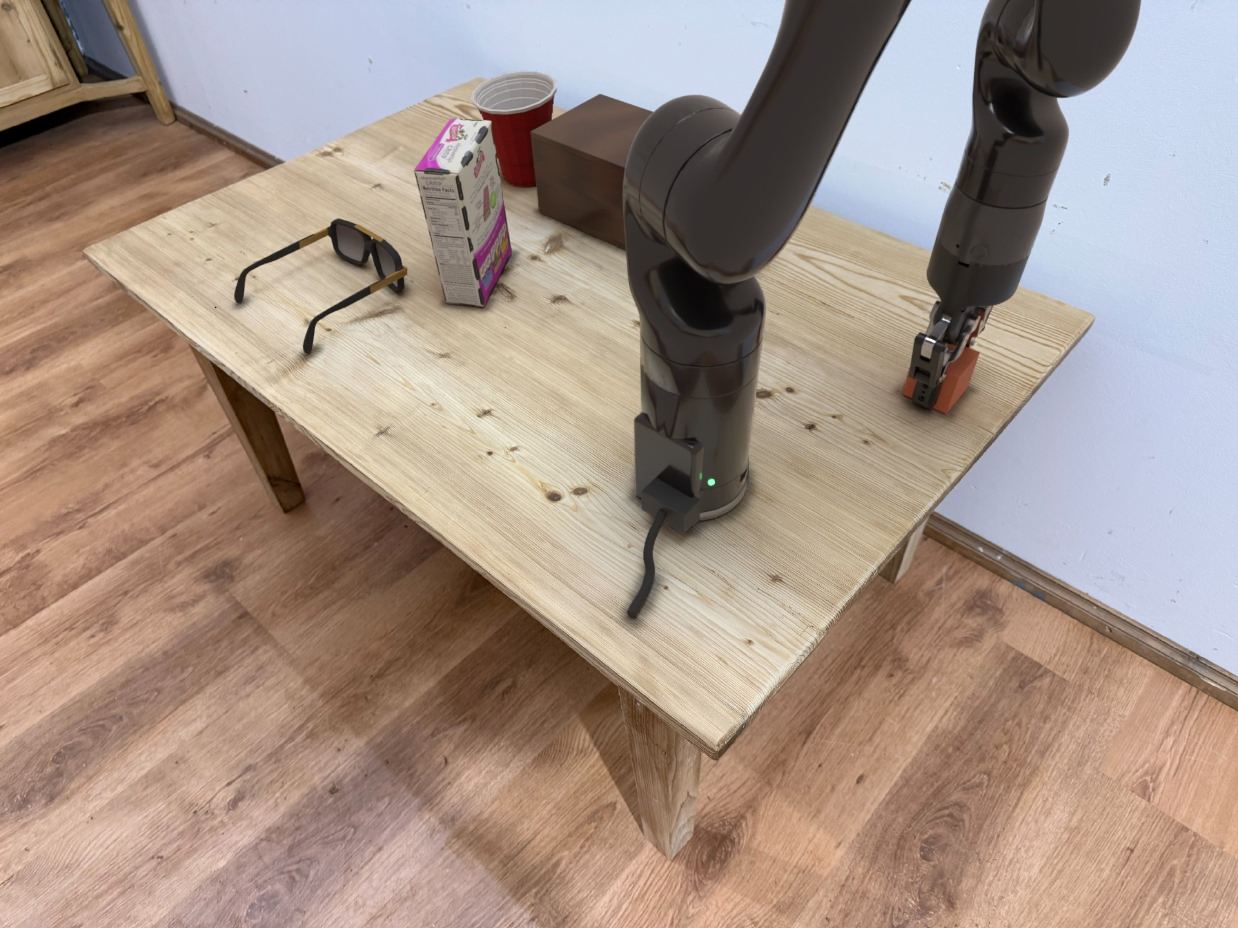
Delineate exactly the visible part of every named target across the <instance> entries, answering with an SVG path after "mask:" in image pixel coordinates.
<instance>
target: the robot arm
mask: <svg viewBox="0 0 1238 928" xmlns="http://www.w3.org/2000/svg"><path fill="white" fill-rule="evenodd" d="M912 1H913V0H785V1H784V5H783V10H782V15H781V19H780V24H779V27H778V30H777V34H776V37H775V41H774V43H773V45H772V48H771V51H770V54H769V56H768V59H767V61H766V63H765V65H764V68H763V70H762V71H761V74H760V76H759V78H758V81H757V82H756V85H755V87H754V88H753V91H752V93H751V95H750V97H749V99H748V101H747V102H746V104H745V106H744V108H743V109H742V112H738V111H737V110H735V109H734V108H733V107H731V106H730V105H728V104H726V103H725V102H723V101H721V100H719V99H716V98H715V97H712V96H708V95H704V94H686V95H681V96H678V97H675V98H672V99H670V100H668V101H666V102H664V103H663V104H661V105H660V106H659V107H657V108H656V109H655V110H654V111H653V113H652V114H651V115H650V116H649V117H648V118H647V119H646V121H645V122H644V123H643V124H642V126H641V127H640V129H639V130H638V132H637V134H636V136H635V138H634V140H633V142H632V145H631V147H630V150H629V153H628V156H627V160H626V164H625V170H624V177H623V218H624V232H625V246H626V250H625V257H626V258H625V259H626V272H627V273H626V274H627V280H628V285H629V290H630V293H631V294H630V295H631V297H632V300H633V301H634V305H635V307H636V310H637V312H638V316H639V360H640V361H639V370H640V371H639V374H640V378H639V379H640V413H639V414H637V415H636V416H635V417H634V418H633V439H634V440H633V444H634V445H633V446H634V447H633V448H634V449H633V450H634V451H633V452H634V489H635V490H634V491H635V492H634V493H635V496H636V497H638V498H639V499H640V500H641V510H642V511H643V512H646V513H647V514H649V515H651V516H652V517H654V519H653V521H652V523H651V525H650V527H649V528H648V529H649V530H648V532H647V534H646V537H645V541H644V544H643V549H642V558H643V565H644V575H643V580H642V583H641V586H640V588H639V590H638V592H637V593H636V595H635V597H634V599H633V600H632V601H631V604H630V605H629V607H628V609H627V611H626V614H627V616H628V617H630V618H636V617H637V616H638V614H639V611H640V610H641V609H642V606H643V605H644V603H645V602H646V600H647V598H648V596H649V594H650V592H651V589H652V588H653V583H654V580H655V573H656V567H655V561H654V548H655V544H656V540H657V537H658V535H659V532H660V530H661V528H662V527H663V524H666V525H667V526H668V527H670V528H671V529H673V530H674V531H677V532H679V533H680V534H682V535H684V534H685V533H686V532H687V531H688V530H689V529H690V528H693V527H694V526H695V525H696V524H697V523H698V522H700V521H707V520H712V519H715V518H718V517H721V516H723V515H725V514H727V513H729V512H730V511H732V510H733V509H734V508H735V507H737V506H738V505H739V503H740V502H741V501H742V500H743V498H744V495H745V493H746V490H747V488H748V484H749V483H748V478H749V475H750V474H749V471H750V449H751V441H752V433H753V432H752V431H753V422H754V414H755V407H756V398H757V389H758V381H759V375H760V374H759V373H760V365H761V358H762V349H763V340H764V333H765V326H766V319H767V302H766V301H767V300H766V297H765V294H764V291H763V288H762V285H761V284H760V282H759V280H758V279H757V277H756V276H757V275H759V274H760V273H761V272H762V271H764V270H765V269H766V268H767V267H769V266H770V265H771V264H772V263H773V262H774V261H775V260H776V258H777V257H779V255H780V254H781V253H782V252H783V250H784V249H785V248H786V246H787V245H788V244H789V242H790V241H791V239H792V238H793V236H794V235H795V233H796V232H797V231H798V229H799V227H800V225H801V223H802V222H803V221H804V219H805V217H806V214H807V213H808V210H809V209H810V207H811V205H812V203H813V201H814V199H815V197H816V196H817V193H818V190H819V188H820V186H821V185H822V182H823V179H824V178H825V176H826V174H827V172H828V170H829V168H830V165H831V163H832V161H833V158H834V156H835V154H836V152H837V150H838V147H839V145H840V143H841V141H842V139H843V137H844V135H845V132H846V130H847V128H848V126H849V124H850V122H851V120H852V117H853V116H854V113H855V112H856V109H857V107H858V105H859V103H860V100H861V98H862V97H863V95H864V92H865V90H866V88H867V86H868V85H869V82H870V80H871V78H872V76H873V75H874V72H875V71H876V69H877V67H878V64H879V63H880V61H881V60H882V57H883V56H884V53H885V51H886V49H887V48H888V46H889V44H890V42H891V40H892V38H893V36H894V35H895V33H896V31H897V29H898V28H899V26H900V24H901V22H902V20H903V19H904V16H905V15H906V13H907V11H908V10H909V7H910V5H911V4H912ZM1141 6H1142V0H988V2H987V4H986V7H985V8H984V11H983V14H982V17H981V20H980V24H979V28H978V32H977V38H976V44H975V54H974V62H973V63H974V66H973V79H972V91H971V126H970V130H969V134H968V135H967V138H966V139H967V140H966V143H965V146H964V149H963V153H962V157H961V160H960V163H959V167H958V171H957V174H956V178H955V180H954V183H953V185H952V188H951V190H950V192H949V194H948V197H947V199H946V200H945V201H946V202H945V203H944V207H943V212H942V214H941V215H942V216H941V218H940V221H939V225H938V229H937V232H936V236H935V240H934V243H933V247H932V250H931V254H930V258H929V261H928V264H927V267H926V268H927V269H926V274H925V275H926V280H927V282H928V285H929V286H930V288H931V289H932V290H933V291H934V292H935V294H936V295H937V296H938V298H939V299H937V300H936V301H935V302H934V304H933V305H932V308H931V310H930V313H929V316H928V318H929V323H928V326H927V328H926V330H925V333H924V332H922V331H920V332H918V333H917V335H915V337H914V339H913V346H912V353H911V359H910V364H909V365H910V366H909V368H910V371H909V370H908V372H909V377H910V378H912V379H915V380H917V382H916V385H915V388H914V391H913V395H912V398H911V400H912V402H913V403H914V404H916V405H918V406H921V407H923V408H925V409H927V410H932V409H934V408H933V407H934V406H935V404H936V402H937V399H938V396H939V394H940V391H941V388H942V385H943V382H944V380H945V379H946V377H947V372H948V370H949V368H950V365H951V363H952V362H954V361H955V360H957V359H958V358H959V357H960V356H961V354H962V352H963V350H964V347H965V346H966V347H968V348H971V349H972V347H974V345H976V339H977V338H978V336H979V335H980V334H982V332H984V331H985V328H986V324H987V322H988V321H989V318H990V315H991V313H992V310H993V308H994V307H995V306H998V305H1000V304H1003V303H1005V302H1007V301H1008V300H1010V299H1011V298H1012V297H1013V296H1014V295H1015V293H1016V292H1017V290H1018V288H1019V285H1020V282H1021V280H1022V276H1023V274H1024V271H1025V269H1026V267H1027V264H1028V261H1029V259H1030V256H1031V254H1032V250H1033V248H1034V245H1035V244H1036V243H1035V242H1036V240H1037V237H1038V234H1039V233H1040V230H1041V227H1042V223H1043V220H1044V216H1045V212H1046V206H1047V203H1048V199H1049V196H1050V194H1051V190H1052V189H1053V186H1054V183H1055V180H1056V177H1057V175H1058V173H1059V170H1060V168H1061V164H1062V162H1063V159H1064V156H1065V153H1066V150H1067V147H1068V143H1069V137H1070V127H1069V125H1068V121H1067V119H1066V116H1065V115H1064V113H1063V111H1062V109H1061V106H1060V104H1059V101H1058V100H1059V99H1070V98H1075V97H1078V96H1081V95H1083V94H1086V93H1088V92H1090V91H1091V90H1093V89H1094V88H1096V87H1097V86H1099V85H1100V84H1101V83H1103V82H1104V81H1105V80H1106V79H1107V78H1108V77H1109V76H1110V75H1111V74H1112V73H1113V72H1114V71H1115V70H1116V68H1117V67H1118V65H1119V64H1120V63H1121V61H1122V59H1123V58H1124V57H1125V54H1126V53H1127V51H1128V49H1129V47H1130V45H1131V42H1132V40H1133V38H1134V35H1135V32H1136V29H1137V25H1138V23H1139V22H1138V21H1139V18H1140V12H1141ZM947 343H948V344H951V345H953V344H954V345H956V346H955V349H952V348H949V347H947Z"/></svg>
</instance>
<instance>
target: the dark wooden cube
mask: <svg viewBox="0 0 1238 928" xmlns="http://www.w3.org/2000/svg"><path fill="white" fill-rule="evenodd" d="M653 112H654V111H652V110H649V109H646V108H643V107H640V106H637V105H635V104H632V103H628V102H626V101H623V100H620V99H617V98H614V97H611V96H608V95H605V94H603V93H599V94H596V95H594V96H593V97H591V98H590V99H588V100H585V101H584V102H582V103H580V104H578V105H577V106H575V107H573V108H570V109H569V110H567V111H565V112H564V113H561V114H560V115H558V116H556V117H554V118H552V120H551V121H549V122H547V123H545V124H543V125H542V126H540V127H538V128H536V129H534V130H532V131H531V142H532V151H533V160H534V169H535V178H536V185H535V186H536V195H537V197H536V198H537V204H538V212H539V213H540V214H543V215H545V216H547V217H549V218H552V219H554V220H556V221H559V222H561V223H563V224H565V225H567V226H569V227H572V228H575V229H577V230H579V231H581V232H583V233H585V234H588V235H590V236H592V237H595V238H597V239H600V240H602V241H604V242H606V243H608V244H611V245H613V246H615V247H618V248H619V249H622V250H624V251H626V246H625V232H624V218H623V177H624V170H625V164H626V160H627V156H628V153H629V150H630V147H631V145H632V142H633V140H634V138H635V136H636V134H637V132H638V130H639V129H640V127H641V126H642V124H643V123H644V122H645V121H646V119H647V118H648V117H649V116H650V115H651V114H652V113H653Z"/></svg>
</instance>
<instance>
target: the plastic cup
mask: <svg viewBox="0 0 1238 928" xmlns="http://www.w3.org/2000/svg"><path fill="white" fill-rule="evenodd" d="M557 90H558V85H557V79H555V78H554V77H552V75H550V74H549V73H545V72H542V71H538V70H517V71H511V72H504V73H502V74H499V75H496V76H492V77H490V78H488V79H486V80H485V81H483V82H481V83H479V84H478V85H477V86H476V87H475V88H474V90H473V91H472V92H471V103H472V105H474V106H475V107H476V108H477V110H478V112H479V114H480V116H481V118H482V120H487V121H491V124H492V131H493V137H494V143H495V149H496V156H497V162H498V165H499V167H500V170H501V174H502V176H503V177H504V181H505V182H506V183H507V184H508V185H510V186H513V187H518V188H530V187H535V186H536V178H535V169H534V160H533V151H532V142H531V131H532V130H534V129H536V128H538V127H540V126H542V125H543V124H545V123H547V122H549V121H551V120H553V113H554V104H555V95H556V93H557V92H558V91H557Z"/></svg>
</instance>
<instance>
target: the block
mask: <svg viewBox="0 0 1238 928" xmlns="http://www.w3.org/2000/svg"><path fill="white" fill-rule="evenodd" d="M955 346H956V345H954V344H953V345H951V344H948V343H947V347H949V348H952V349H955ZM980 354H981V353H980V351H979V350H975V349H974V348H972V347H971V348H968V347H966V346H965V347H964V350H963V352H962V354H961V356H960V357H959V358H958V359H957V360H955V361H954V362H952V363H951V365H950V368H949V370H948V372H947V377H946V379H945V380H944V382H943V385H942V388H941V391H940V394H939V396H938V399H937V402H936V404H935V406H934V407H933V408H932V409H934V410H936V411H938V412H940V413H943V414H945V415H946V414H948V412H949V411H950V410H951V409H952V408H953V407H954V405H955V404H956V403H957V402H958V400H959V399H960V398H961V397H962V395H963V394H964V393H965V392H966V390H968V387H969V384H970V382H971V378H972V377H973V374H974V371H975V367H976V365H977V362H978V359H979V357H980ZM909 371H910V367H909V368H908V372H907V375H906V379H905V382H904V386H903V389H902V393H901V394H902V395H903V396H905V397H908V398H910V399H912V395H913V391H914V388H915V385H916V382H917V380H915V379H912V378H910V377H909Z"/></svg>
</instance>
